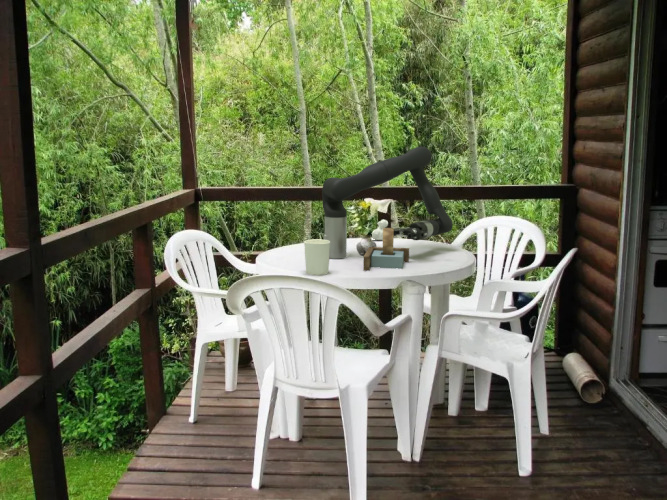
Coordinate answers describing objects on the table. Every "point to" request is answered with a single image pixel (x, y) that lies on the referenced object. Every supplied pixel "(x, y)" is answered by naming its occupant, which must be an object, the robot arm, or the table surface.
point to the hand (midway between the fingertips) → (399, 235)
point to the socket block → (387, 259)
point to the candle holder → (317, 256)
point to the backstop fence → (371, 249)
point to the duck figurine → (379, 230)
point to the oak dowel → (388, 241)
